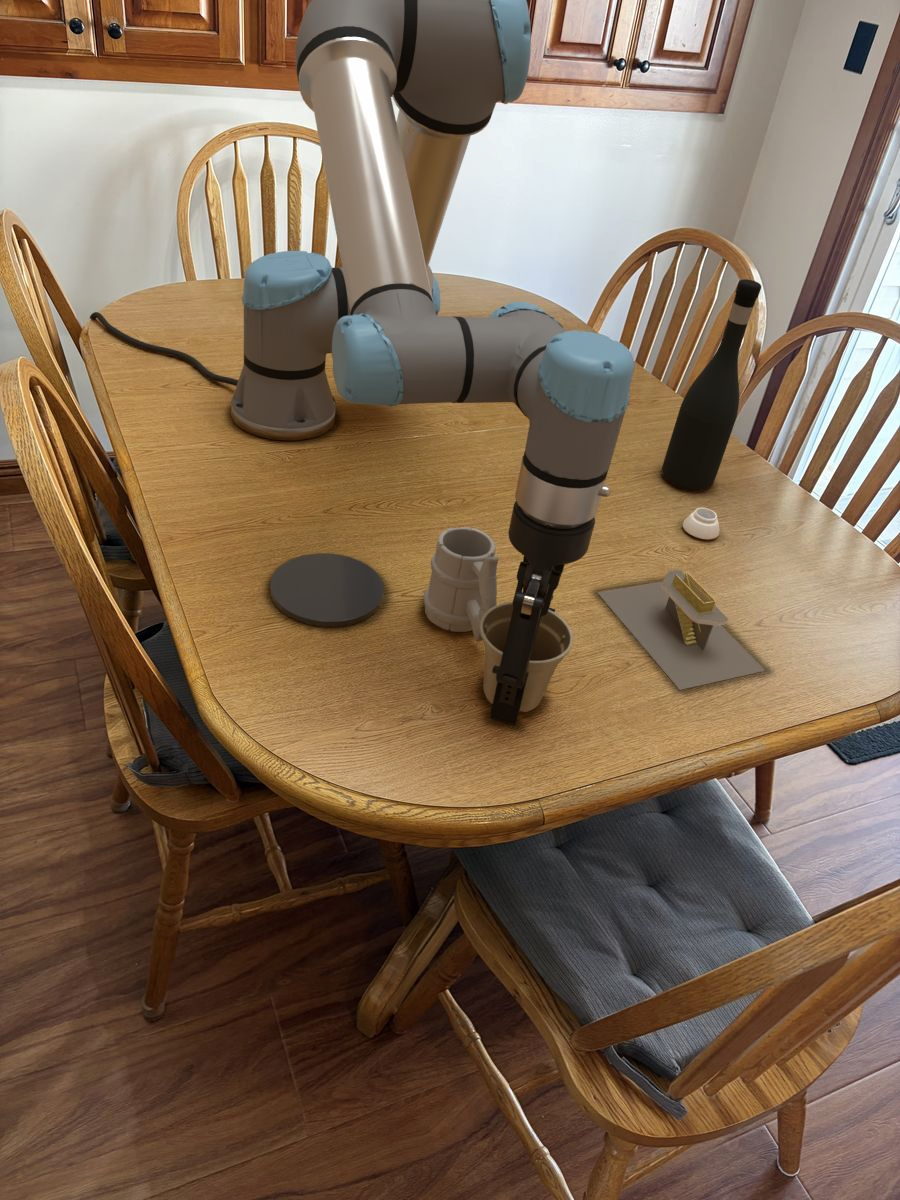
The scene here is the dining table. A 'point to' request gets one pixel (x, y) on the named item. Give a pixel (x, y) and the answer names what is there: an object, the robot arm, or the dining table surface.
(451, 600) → the mug
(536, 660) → the flower pot
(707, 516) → the small white bowl
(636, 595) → the platform
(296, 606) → the coaster
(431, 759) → the dining table surface
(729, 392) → the wine bottle
